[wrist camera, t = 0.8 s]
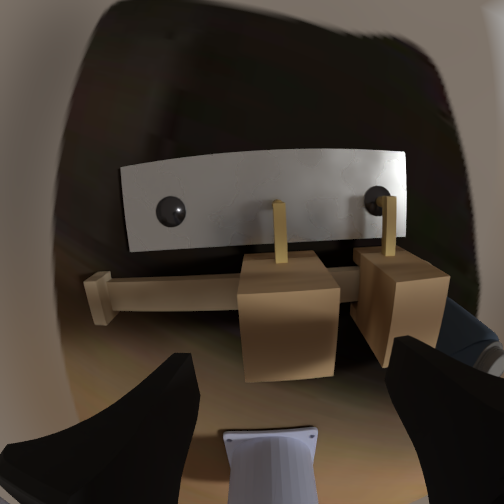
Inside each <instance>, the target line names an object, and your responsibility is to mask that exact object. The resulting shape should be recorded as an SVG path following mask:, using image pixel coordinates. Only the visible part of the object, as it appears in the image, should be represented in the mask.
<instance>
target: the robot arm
mask: <svg viewBox="0 0 504 504" xmlns="http://www.w3.org/2000/svg"><path fill="white" fill-rule="evenodd" d="M385 383H386V386H387V389H388V392H389V395H390V398H391V400H392V403H393V405H394V407H395V409H396V411H397V413H398V415H399V417H400V419H401V421H402V423H403V425H404V427H405V429H406V431H407V433H408V435H409V437H410V439H411V441H412V443H413V445H414V447H415V450H416V452H417V455H418V458H419V461H420V465H421V468H422V471H423V475H424V479H425V483H426V487H427V492H428V497H429V503H430V504H504V378H500V377H497V376H494V375H491V374H488V373H486V372H483V371H480V370H478V369H475V368H473V367H471V366H469V365H467V364H464V363H462V362H460V361H458V360H456V359H454V358H452V357H450V356H448V355H446V354H445V353H443V352H441V351H439V350H437V349H435V348H433V347H431V346H430V345H428V344H426V343H424V342H422V341H420V340H418V339H416V338H414V337H412V336H409V335H406V336H400V337H395V338H394V341H393V346H392V351H391V355H390V360H389V365H388V369H387V373H386V377H385ZM199 402H200V392H199V388H198V383H197V379H196V375H195V370H194V365H193V361H192V356H191V353H174V354H172V355H171V356H170V357H169V358H168V359H167V360H166V361H165V362H163V363H162V364H161V365H160V366H159V367H158V368H157V369H156V370H155V371H154V372H152V373H151V374H150V375H149V376H148V377H147V378H146V379H144V380H143V381H142V382H141V383H140V384H139V385H137V386H136V387H135V388H134V389H132V390H131V391H130V392H128V393H127V394H126V395H125V396H123V397H122V398H121V399H119V400H118V401H117V402H115V403H114V404H112V405H111V406H109V407H108V408H106V409H104V410H103V411H101V412H99V413H98V414H96V415H94V416H93V417H91V418H89V419H87V420H85V421H82V422H80V423H78V424H76V425H74V426H72V427H70V428H68V429H65V430H62V431H60V432H57V433H55V434H51V435H48V436H45V437H41V438H38V439H34V440H29V441H24V442H19V443H13V444H7V445H6V447H5V448H4V450H3V451H2V452H1V454H0V485H1V486H2V487H3V488H4V489H5V490H6V491H7V492H8V493H9V494H10V495H11V496H12V497H14V498H15V499H16V500H17V501H18V502H19V503H20V504H178V497H179V490H180V483H181V476H182V472H183V468H184V464H185V460H186V457H187V453H188V450H189V446H190V443H191V439H192V436H193V432H194V429H195V425H196V421H197V417H198V410H199ZM317 436H318V430H317V428H316V427H306V428H296V429H283V430H266V431H226V432H224V433H223V439H224V443H225V448H226V452H227V456H228V460H229V464H230V468H231V472H230V482H229V493H228V504H318V497H317V491H316V484H315V477H314V471H313V461H314V455H315V449H316V442H317ZM0 504H9V503H8V502H7V501H5V500H4V499H3V498H1V497H0Z"/></svg>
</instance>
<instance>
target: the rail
mask: <svg viewBox="0 0 504 504" xmlns="http://www.w3.org/2000/svg"><path fill="white" fill-rule="evenodd" d="M424 261H425V260H424ZM426 262H427V261H426ZM427 263H429V262H427ZM429 264H430V263H429ZM326 269H327V270H328V271H329V273H330V274H331V275H332V277H333V278H334V280H335V281H336V282H337V284H338V285H339V287H340V303H342V302H353V301H358V295H359V280H360V267H359V266H349V267H335V268H326ZM240 275H241V273H236V274H216V275H193V276H169V277H140V278H111V273H110V271H103V272H97V273H96V274H94V275H93V276H91V277H89V278H88V279H86V280H85V281H84V287H85V291H86V295H87V299H88V303H89V306H90V310H91V314H92V317H93V321H94V324H95V325H108V324H109V323H110V322H111V321H112V319H113V318H114V317H115V316H116V315H117V314H118V313H119V311H211V310H238V300H237V292H238V286H239V281H240Z"/></svg>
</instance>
